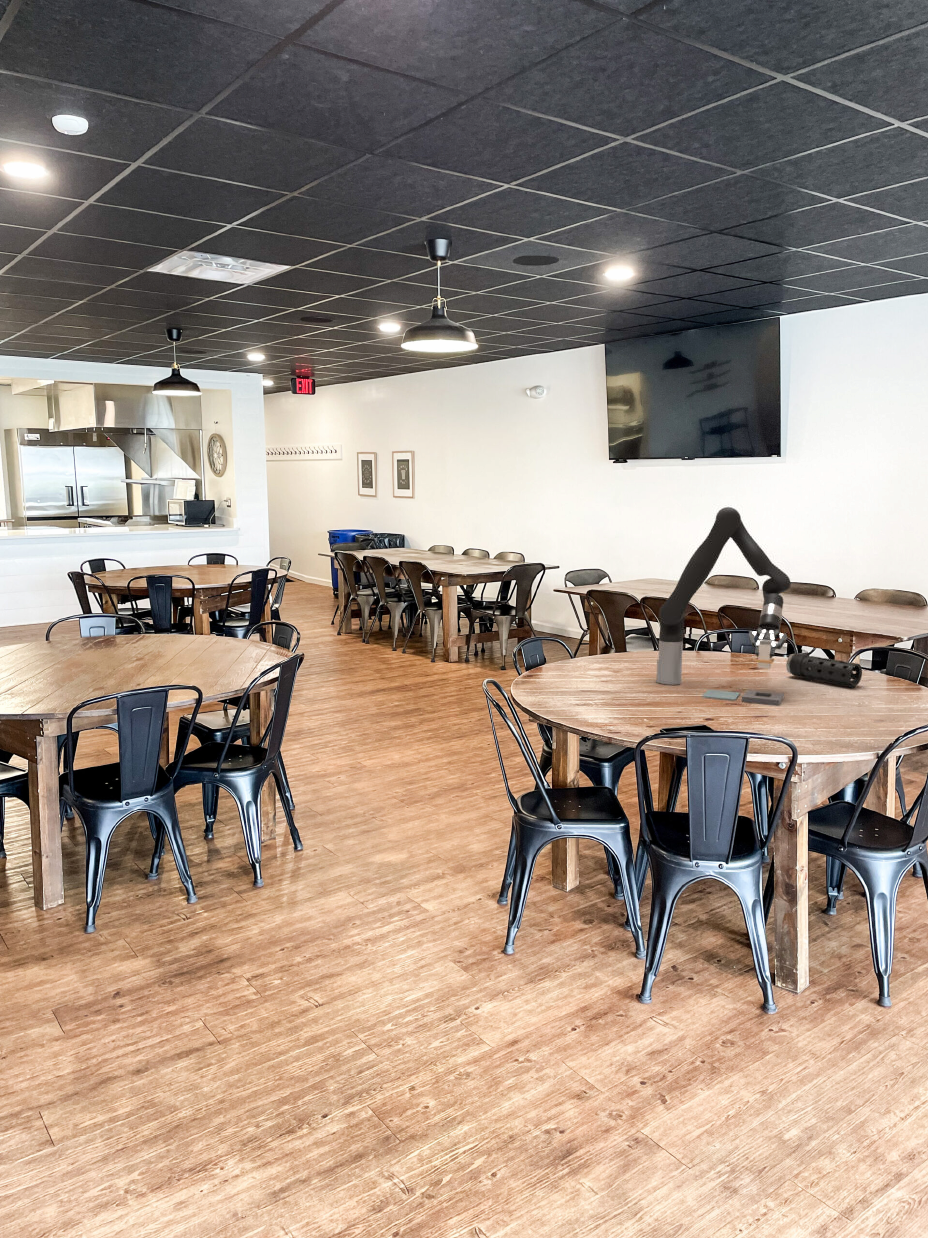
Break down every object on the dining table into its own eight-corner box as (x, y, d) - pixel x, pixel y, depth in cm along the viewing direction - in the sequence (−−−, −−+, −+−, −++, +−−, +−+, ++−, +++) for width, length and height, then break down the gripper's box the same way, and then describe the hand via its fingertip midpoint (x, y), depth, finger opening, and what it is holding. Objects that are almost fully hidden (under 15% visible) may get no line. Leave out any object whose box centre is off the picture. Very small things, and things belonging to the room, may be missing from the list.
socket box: (741, 702, 318) (742, 696, 318) (747, 694, 330) (747, 689, 329) (779, 705, 312) (779, 700, 312) (783, 698, 324) (783, 692, 324)
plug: (754, 668, 318) (756, 641, 316) (756, 665, 323) (758, 638, 322) (771, 669, 315) (773, 642, 314) (773, 666, 321) (775, 639, 319)
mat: (701, 697, 325) (702, 696, 325) (708, 691, 336) (708, 689, 336) (735, 700, 320) (735, 699, 320) (740, 694, 330) (740, 692, 330)
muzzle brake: (848, 690, 337) (850, 664, 335) (784, 678, 359) (785, 653, 357) (861, 687, 343) (863, 661, 341) (797, 675, 365) (798, 651, 363)
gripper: (750, 611, 326) (743, 648, 317) (790, 614, 320) (784, 651, 311) (751, 623, 332) (744, 660, 323) (791, 626, 325) (785, 663, 316)
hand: (764, 655), depth 317 cm, fingers closed on plug, 4 cm apart
